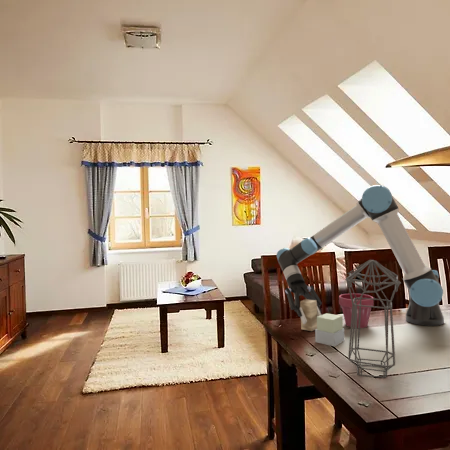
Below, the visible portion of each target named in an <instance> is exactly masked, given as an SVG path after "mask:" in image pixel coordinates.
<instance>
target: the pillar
mask: <svg viewBox="0 0 450 450" xmlns="http://www.w3.org/2000/svg"><path fill="white" fill-rule="evenodd" d="M299 308H302V310H303V312H304V315H305V317H306V319H307V322H306V324H303V322H302V320H301V319H300V328H301V329H300V330H304V331H309V332H313V331H315V330H316V329H317V301H316V300H309V299H306V298H305V299H303V300H299Z"/></svg>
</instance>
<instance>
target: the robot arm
mask: <svg viewBox="0 0 450 450" xmlns="http://www.w3.org/2000/svg"><path fill="white" fill-rule="evenodd" d="M392 194H393V193H392V192H391V191H390V189H389V188H388V187H387V186H385V185H382V184H373V185H371V186H369V187H368V188H366V189H365V190H363V193H362V195H361V198H360V199H359V200H358V201H357V202H356V205H354V206H352V208H350V209H349V210H347V211H346V212H344V213H343V214H342V215H340V216H339V217H337V218H336V219H335V220H333V221H332V222H330V223H329V224H327V225H326V226H325V227H323V228H322V229H320V230H319V231H317V232H316V233H314V234H313V235H312V236H310V237H306V238H304V239H302V240H301V241H300V242H299V243H297V244H295V246H293V247H292V248H289V247H284V248H281V249H279V250H278V251H277V253H276V258H277V262H278V265H279V267H280V269H281V272H282V273H283V275H284V278H285V280H286V283H287V285H288V287H286V288H285V290H284V293H285V295H286V297H287V300H288V303H289V308H290V310H291V311H293V310H294V312H295V313H296V314H297V316H298V317H300V321H301V320H302V322H303V324H306V322H307V319H306V317H305V315H304V312H303V310H302V308H300V296H303V298H305V299H309V300H316V301H317V317H318V316H320V315H322V310H321V308H320V307H321V306H322V303H323V302H322V300H321V299H320V297H319V295H318V294H317V292H316V290H315V288H314V285H310V286H309V285H308V284H306V282H305V279H304V277H303V274H302V272H301V270H300V268H299V266H298V264H299V263H301V262H302V261H303V260H305V259H307V258H308V257H310V256H312V255H314V254H316V253H318V251H320V250H321V249H323V248H324V247H326V246H328V244H330V243H332V242H333V241H335V240H336V239H338V238H339V237H341V236H342V235H343V234H345V233H346V232H348V231H349V230H350V229H353V228H354V227H355V226H357V225H358V224H360V223H361V222H363V221H364V220H366V219H371V221H372V222H375V223H377V224H378V226H379V228H380V230H381V232H382V234H383V236H384V238H385V240H386V242H387V244H388V245H389V247H390V250H392V251H391V252H392V253H393V254H394V255H393V256H395V258H396V260H397V262H398V264H399V266H400V269H401V270H402V272H403V278H402V280H403V282H404V284H405V286H406V288H407V289H408V297H409V304H408V307H407V310H406V312H405V321H406V322H408V323H410V324H414V325H420V326H428V327H429V326H432V327H434V326H441V325H444V323H445V317H444V315H443V312H442V309H441V307H440V302H441V301H442V300H443V294H444V289H443V287H442V285H441V284H440V282H439V278H440V277H439V276H440V275H439V272H438V270H436V269H432V267H429V266H426V265H425V263H424V260H423V259H422V257H421V256H420V254H419V251H418V250H417V248H416V246H415V245H414V242H413V241H412V238H411V237H410V235H409V233H408V231H407V229H406V227H405V225H404V224H403V222H402V220H401V219H400V217H399V215H398V212H399V209H400V208H399V206H398V204H397V202H396V201H395V198H394V197H393V195H392ZM292 293H293V294H292Z"/></svg>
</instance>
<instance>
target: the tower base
mask: <svg viewBox="0 0 450 450" xmlns="http://www.w3.org/2000/svg"><path fill="white" fill-rule="evenodd" d="M314 332H315V335H314V336H315V343H319V344H321V345H326V346H332V347H336V346H338V345H340V344H341V343H343V342H344V341H345V328H344V327H343V329H341V330H339V331H337V332H335V333H330V332H326V331H321V330H317V329H315V330H314ZM342 341H343V342H342ZM339 343H340V344H339Z"/></svg>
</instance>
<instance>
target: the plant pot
mask: <svg viewBox="0 0 450 450" xmlns="http://www.w3.org/2000/svg"><path fill="white" fill-rule="evenodd" d="M354 293H355V292H354ZM354 293H353V292H351V294H352V298H353V299H354V298H355V295H356V298H360V296H361V294H362V293H355V295H354ZM361 298H372V299H374V297H373V296H371V295H369V294H366V293H364V294H363V296H362V297H361ZM357 301H358V299H357V300H356V302H357ZM374 302H375V300H371V299H361V305H366V306H374V305H375V304H374ZM354 303H355V300H354ZM338 304H339V306H340V307H341V310H342V314H343V320H344V322H345V325H346V326H347V327H348V328H351V317H352V301H351V297H350V293H343V294H342V293H341V294H340V295H339V296H338ZM357 305H360V300H359V301H358V302H357ZM371 310H372V307H363V306H361V319H360V329H365V328H368V325H369V320H370V316H371V313H372V311H371ZM353 318H354V314H353ZM358 324H359V306H357V329H358ZM352 329H353V327H352ZM354 329H355V327H354Z"/></svg>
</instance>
